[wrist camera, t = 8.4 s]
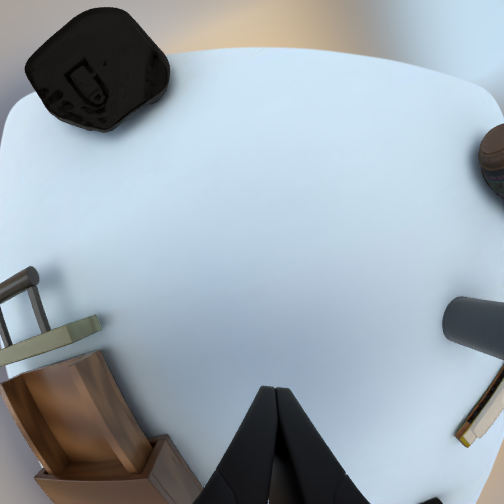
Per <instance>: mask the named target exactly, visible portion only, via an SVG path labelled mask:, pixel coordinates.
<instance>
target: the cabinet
mask: <svg viewBox="0 0 504 504" xmlns="http://www.w3.org/2000/svg"><path fill="white" fill-rule="evenodd" d="M147 440H148V441H149V443H150V444H151V446H152V448H153V451H152V453H151V455H150V457H149V460H148V462H147V464H146V466H145V468H144V470H143V472H142V473H140V474H129V475H113V476H60V475H49V474H48V472H47V471H46V470H45V468H43V469H42V470H41V471H40V472H39V473H38V474H37V475H36V476H35V477H34V479H35V480H36V482H37V483H38V484H39V485H40V487H41V488H42V489H43V491H44V492H45V493H46V494H47V496H48V497H49V498H50V499H51V500H52V501H53V503H54V504H192V503H193V502H194V501H195V499H196V498H197V497H198V496H199V494H200V493H201V492H202V490H203V489H204V488H203V487H202V485H201V484H200V483H199V481H198V480H197V478H196V477H195V476H194V474H193V473H192V471H191V470H190V468H189V467H188V465H187V464H186V462H185V461H184V459H183V458H182V456H181V455H180V453H179V452H178V450H177V448H176V447H175V445H174V444H173V442H172V440H171V439H170V437H169V435H168V434H166V435H161V436H156V437H151V438H147Z"/></svg>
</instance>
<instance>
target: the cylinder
mask: <svg viewBox="0 0 504 504" xmlns="http://www.w3.org/2000/svg"><path fill="white" fill-rule="evenodd" d="M443 332H444V335H445V336H446V338H447V339H448V340H450V341H452V342H455V343H458V344H461V345H463V346H466V347H469V348H472V349H474V350H477V351H480V352H483V353H485V354H488V355H491V356H494V357H497V358H499V359H502V360H504V303H503V302H496V301H489V300H482V299H475V298H468V297H457V298H455V299H454V300H453V301H452V302H451V303H450V304H449V305H448V307H447V309H446V311H445V313H444V317H443Z"/></svg>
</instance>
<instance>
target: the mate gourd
mask: <svg viewBox="0 0 504 504" xmlns="http://www.w3.org/2000/svg"><path fill="white" fill-rule="evenodd" d="M478 157H479V163H480V165H481V170H482V173H483V176H484V178H485V181H486V182H487V184H488V185H489V186H490V187H491V189H492V190H493V191H494V192H495V193H496V194H497V195H498V196H501V197H502V198H504V124H501V125H498V126H496V127H494V128H493V129H491V130H490V131H489V132H488V133H487V134H486V135H485V137H484V138H483V140H482V142H481V145H480V149H479V156H478Z"/></svg>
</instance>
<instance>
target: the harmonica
mask: <svg viewBox="0 0 504 504" xmlns="http://www.w3.org/2000/svg"><path fill="white" fill-rule="evenodd" d="M503 409H504V365H503V367H502V369H501V370H500V372H499V373H498V375H497V377H496V378H495V380H494V381H493V383H492V384H491V386H490V387H489V389H488V390H487V392H486V393H485V394H484V396H483V397H482V399H481V400H480V401H479V403H478V404H477V406H476V407H475V408H474V410H473V411H472V412H471V413H470V415H469V416H468V417H467V419H466V420H465V423H464V424H463V426H462V427H461V428H460V429H459V430H458V432H457V433H456V434H455V437H456V438H457V439H458V440H459V441H460V442H461V443H462V444H463V445H464V446H465V447H467V448H468V447H469V446H470V445H471V444H472V443H473V442H474V441H475V439H476V438H481V437H482V436H483V435H484V434H485V433H486V432H487V431H488V429H489V428H490V427H491V425H492V424H493V423H494V421H495V420H496V419H497V417H498V416H499V414H500V413H501V412H502V410H503Z"/></svg>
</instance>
